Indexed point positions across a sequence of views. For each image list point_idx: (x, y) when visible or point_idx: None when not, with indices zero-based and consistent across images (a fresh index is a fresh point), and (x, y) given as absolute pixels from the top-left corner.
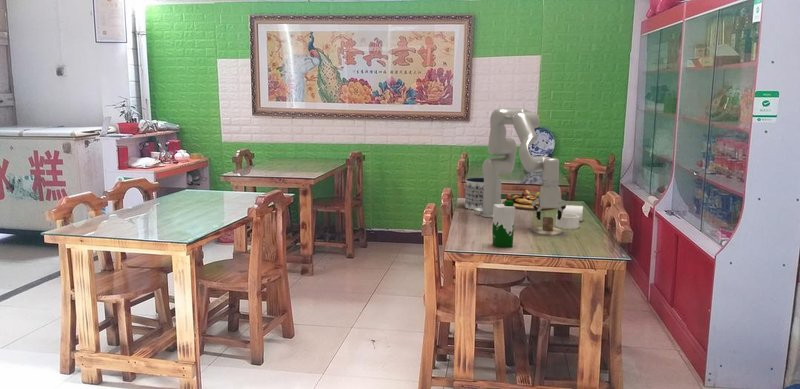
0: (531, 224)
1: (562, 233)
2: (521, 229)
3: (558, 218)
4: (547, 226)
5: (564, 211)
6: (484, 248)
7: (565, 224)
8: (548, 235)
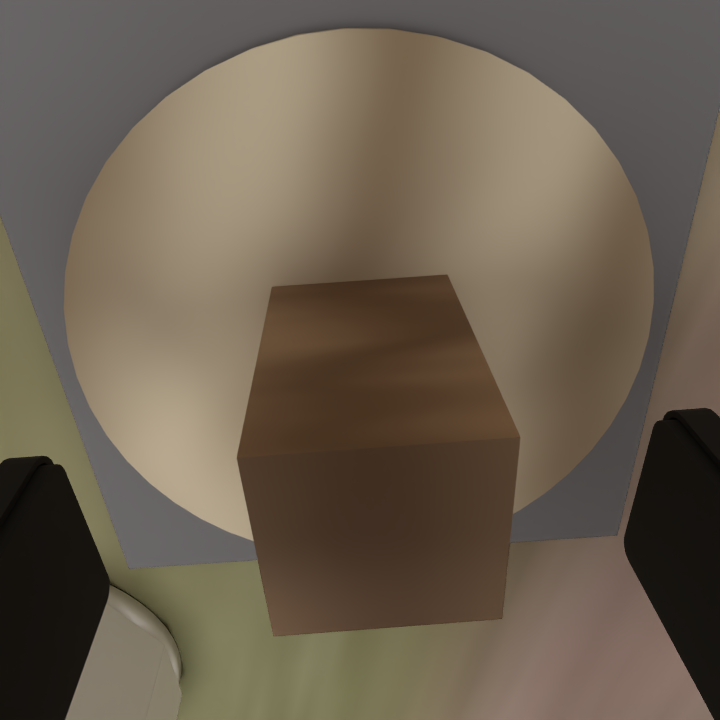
0: (469, 713)
1: None
2: None
3: (66, 519)
4: (398, 321)
5: None
6: None
7: None
8: (406, 21)
